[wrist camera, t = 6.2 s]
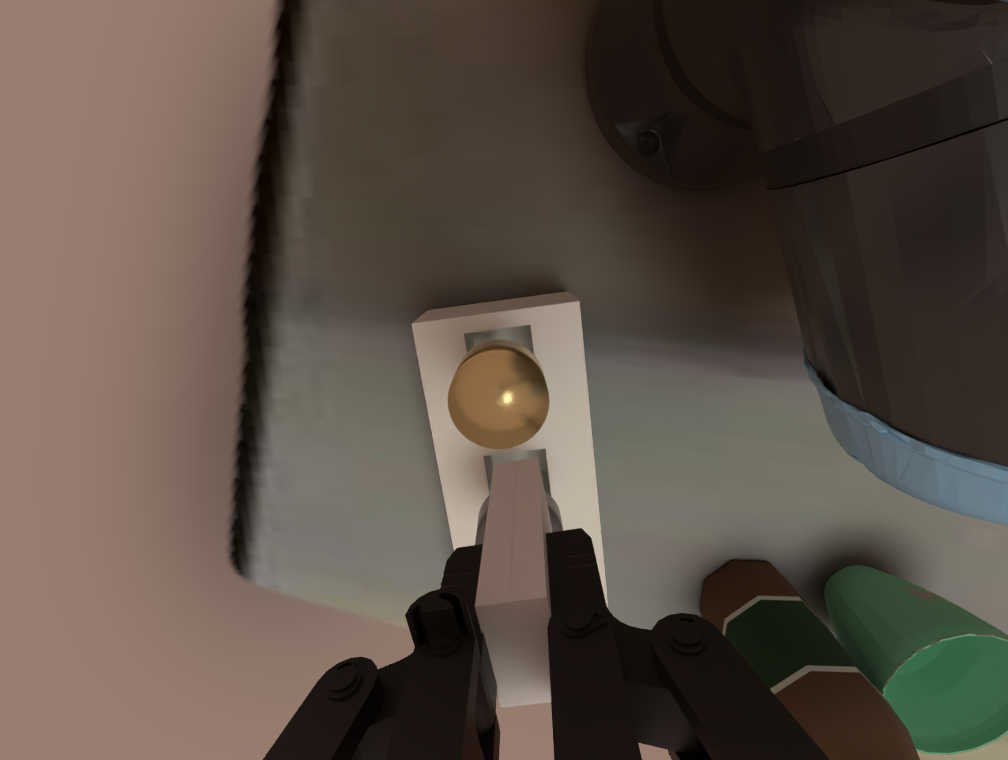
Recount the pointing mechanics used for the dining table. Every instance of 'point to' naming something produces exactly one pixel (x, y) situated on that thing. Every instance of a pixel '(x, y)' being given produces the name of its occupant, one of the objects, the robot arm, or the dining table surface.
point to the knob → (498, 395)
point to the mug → (923, 658)
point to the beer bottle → (803, 664)
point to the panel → (559, 442)
